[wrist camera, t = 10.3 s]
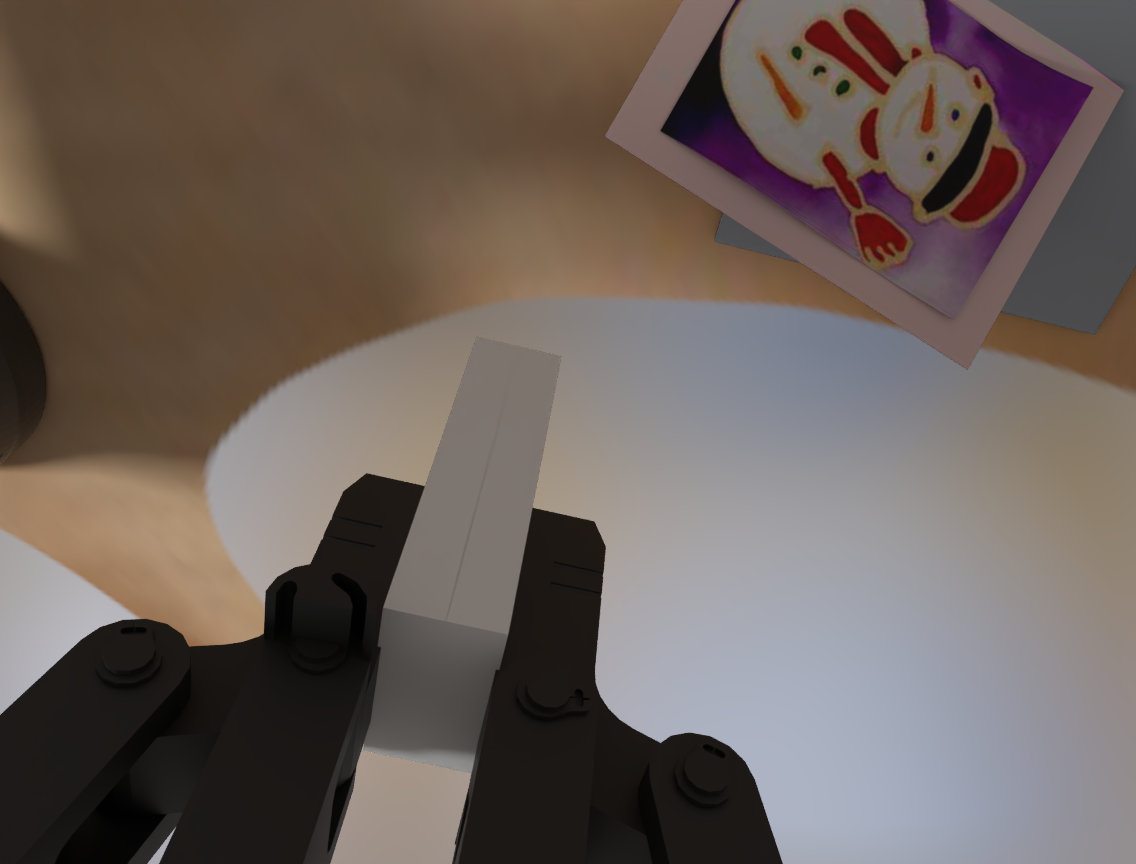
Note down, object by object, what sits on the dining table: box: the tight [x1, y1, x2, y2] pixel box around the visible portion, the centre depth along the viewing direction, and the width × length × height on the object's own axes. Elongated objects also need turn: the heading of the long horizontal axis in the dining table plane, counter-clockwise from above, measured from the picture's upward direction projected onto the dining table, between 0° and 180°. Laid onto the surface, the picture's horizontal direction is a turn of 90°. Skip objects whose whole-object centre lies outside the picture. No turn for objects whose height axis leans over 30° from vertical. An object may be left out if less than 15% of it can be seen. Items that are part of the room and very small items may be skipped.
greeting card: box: [605, 0, 1124, 370], centre depth 36 cm, size 11×7×15 cm
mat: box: [715, 0, 1136, 335], centre depth 36 cm, size 14×16×1 cm
